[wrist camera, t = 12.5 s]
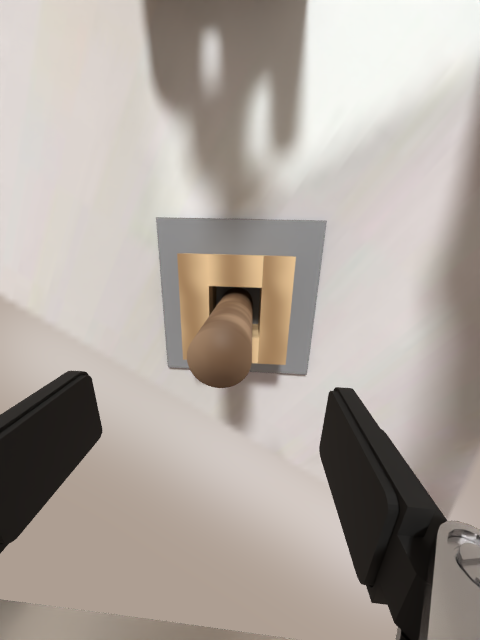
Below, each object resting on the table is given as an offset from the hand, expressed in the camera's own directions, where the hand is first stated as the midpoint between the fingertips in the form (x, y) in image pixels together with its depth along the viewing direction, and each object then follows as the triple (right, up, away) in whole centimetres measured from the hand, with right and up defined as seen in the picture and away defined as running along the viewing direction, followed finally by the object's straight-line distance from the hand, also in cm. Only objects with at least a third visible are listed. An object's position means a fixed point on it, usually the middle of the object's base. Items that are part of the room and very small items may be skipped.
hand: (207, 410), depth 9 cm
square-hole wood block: (+1, +6, +20) cm, 21 cm away
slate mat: (+1, +6, +21) cm, 21 cm away
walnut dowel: (+1, +6, +20) cm, 21 cm away
